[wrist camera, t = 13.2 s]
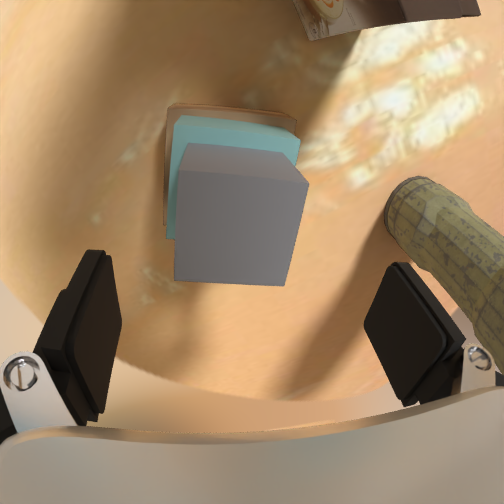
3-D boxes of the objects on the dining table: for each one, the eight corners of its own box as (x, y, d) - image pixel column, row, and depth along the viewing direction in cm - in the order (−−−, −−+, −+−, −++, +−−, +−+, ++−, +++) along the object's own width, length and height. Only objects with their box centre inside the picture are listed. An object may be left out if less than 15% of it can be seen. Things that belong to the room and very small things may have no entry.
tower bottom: (175, 103, 26) (167, 108, 21) (283, 112, 27) (296, 120, 23) (169, 202, 31) (163, 225, 27) (267, 208, 32) (276, 231, 28)
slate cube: (188, 142, 18) (178, 170, 13) (282, 152, 19) (309, 183, 14) (181, 228, 21) (174, 280, 16) (267, 234, 23) (284, 286, 17)
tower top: (181, 114, 22) (174, 124, 18) (284, 127, 23) (301, 140, 19) (172, 209, 26) (166, 238, 22) (265, 218, 27) (276, 247, 23)
